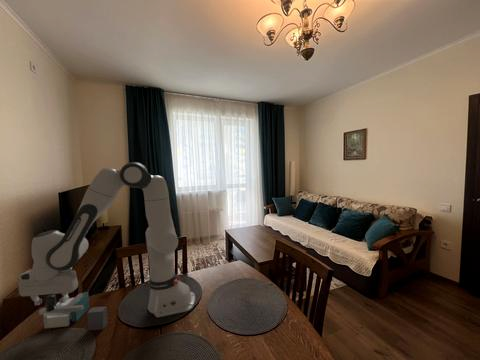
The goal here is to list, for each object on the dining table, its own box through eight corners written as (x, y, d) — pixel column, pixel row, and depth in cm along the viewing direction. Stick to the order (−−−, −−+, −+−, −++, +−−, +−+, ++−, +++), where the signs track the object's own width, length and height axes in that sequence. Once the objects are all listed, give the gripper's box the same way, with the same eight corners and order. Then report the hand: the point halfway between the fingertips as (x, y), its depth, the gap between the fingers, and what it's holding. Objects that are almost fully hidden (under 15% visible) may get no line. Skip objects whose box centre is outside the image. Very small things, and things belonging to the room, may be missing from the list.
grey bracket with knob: (101, 306, 102) (99, 277, 101) (81, 330, 87) (79, 296, 86) (65, 309, 100) (63, 280, 99) (38, 334, 85) (36, 299, 84)
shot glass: (71, 321, 92) (69, 306, 92) (56, 321, 93) (54, 306, 92) (84, 310, 99) (82, 296, 99) (70, 311, 100) (68, 297, 99)
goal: (87, 306, 103) (86, 294, 103) (67, 326, 90) (66, 312, 90) (66, 307, 102) (66, 295, 102) (44, 328, 89) (43, 314, 89)
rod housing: (107, 323, 91) (106, 306, 91) (103, 329, 88) (102, 311, 87) (92, 325, 90) (91, 307, 90) (88, 330, 87) (87, 312, 87)
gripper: (80, 265, 90) (82, 296, 91) (28, 268, 88) (30, 300, 89) (70, 272, 84) (72, 305, 85) (13, 276, 82) (16, 310, 82)
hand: (50, 303), depth 87 cm, fingers open, 8 cm apart
